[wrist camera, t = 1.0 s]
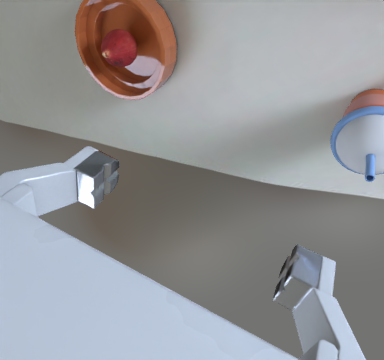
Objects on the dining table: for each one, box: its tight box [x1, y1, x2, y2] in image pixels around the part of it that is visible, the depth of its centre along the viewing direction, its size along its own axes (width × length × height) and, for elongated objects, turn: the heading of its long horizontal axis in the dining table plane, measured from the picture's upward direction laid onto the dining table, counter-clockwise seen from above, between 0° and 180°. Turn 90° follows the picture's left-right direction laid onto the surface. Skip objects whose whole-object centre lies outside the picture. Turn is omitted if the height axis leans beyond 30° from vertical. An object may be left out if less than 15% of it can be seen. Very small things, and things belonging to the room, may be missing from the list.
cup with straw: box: [331, 89, 384, 182], centre depth 40 cm, size 9×9×18 cm
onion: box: [101, 29, 138, 67], centre depth 54 cm, size 6×6×8 cm
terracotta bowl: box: [75, 0, 177, 100], centre depth 55 cm, size 17×17×4 cm
